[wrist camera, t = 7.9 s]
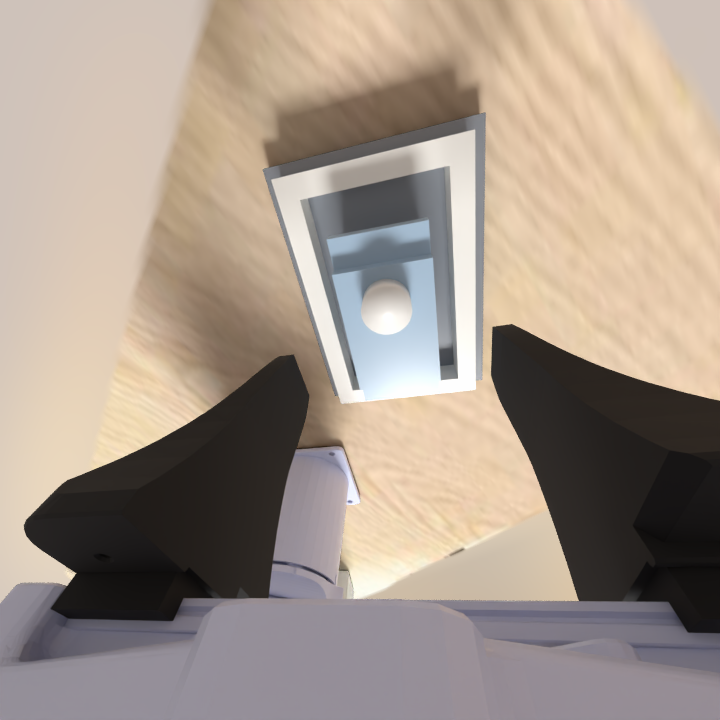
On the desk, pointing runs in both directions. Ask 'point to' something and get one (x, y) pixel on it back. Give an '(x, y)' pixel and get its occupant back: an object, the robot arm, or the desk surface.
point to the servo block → (389, 308)
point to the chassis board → (384, 207)
